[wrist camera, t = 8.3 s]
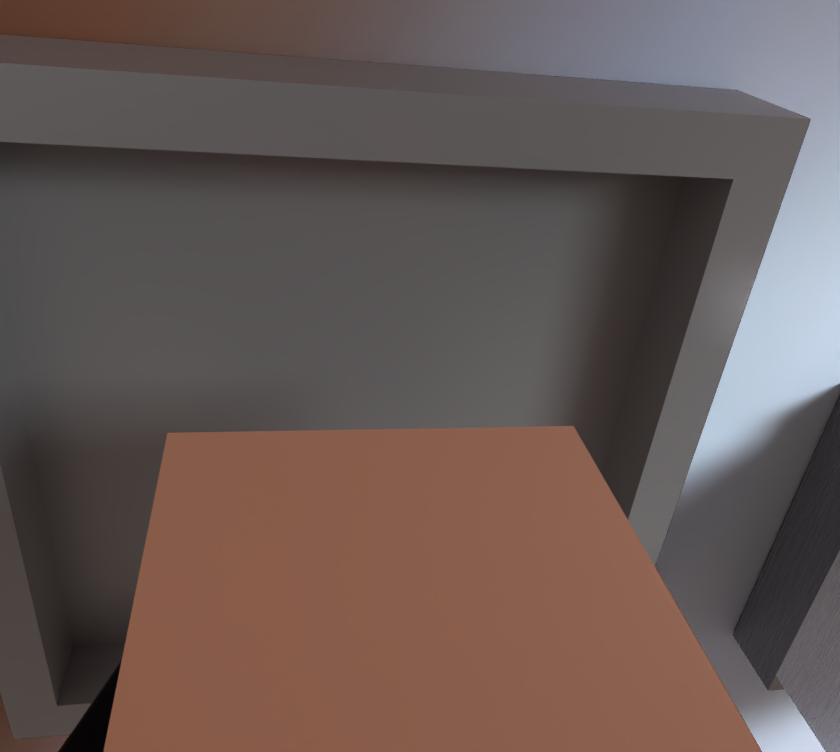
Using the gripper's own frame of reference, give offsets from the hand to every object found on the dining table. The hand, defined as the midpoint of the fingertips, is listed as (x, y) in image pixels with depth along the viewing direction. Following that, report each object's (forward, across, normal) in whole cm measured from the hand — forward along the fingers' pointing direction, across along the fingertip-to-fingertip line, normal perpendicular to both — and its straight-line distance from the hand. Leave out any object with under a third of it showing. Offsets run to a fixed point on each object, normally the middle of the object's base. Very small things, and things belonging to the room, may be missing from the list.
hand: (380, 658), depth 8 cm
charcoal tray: (+5, 0, 0) cm, 5 cm away
